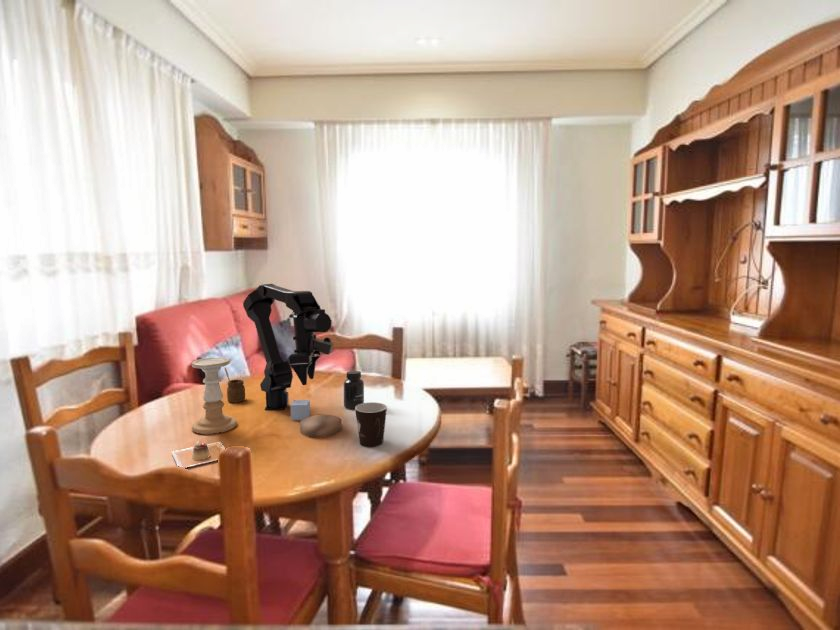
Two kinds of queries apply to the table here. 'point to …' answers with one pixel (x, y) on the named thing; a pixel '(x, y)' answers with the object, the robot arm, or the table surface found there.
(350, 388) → the supplement bottle
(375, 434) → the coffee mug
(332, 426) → the brown disc
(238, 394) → the utensil holder
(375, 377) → the table surface
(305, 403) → the blue cube
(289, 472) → the table surface
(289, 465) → the table surface
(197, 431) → the candle holder
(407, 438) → the table surface
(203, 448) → the dessert
